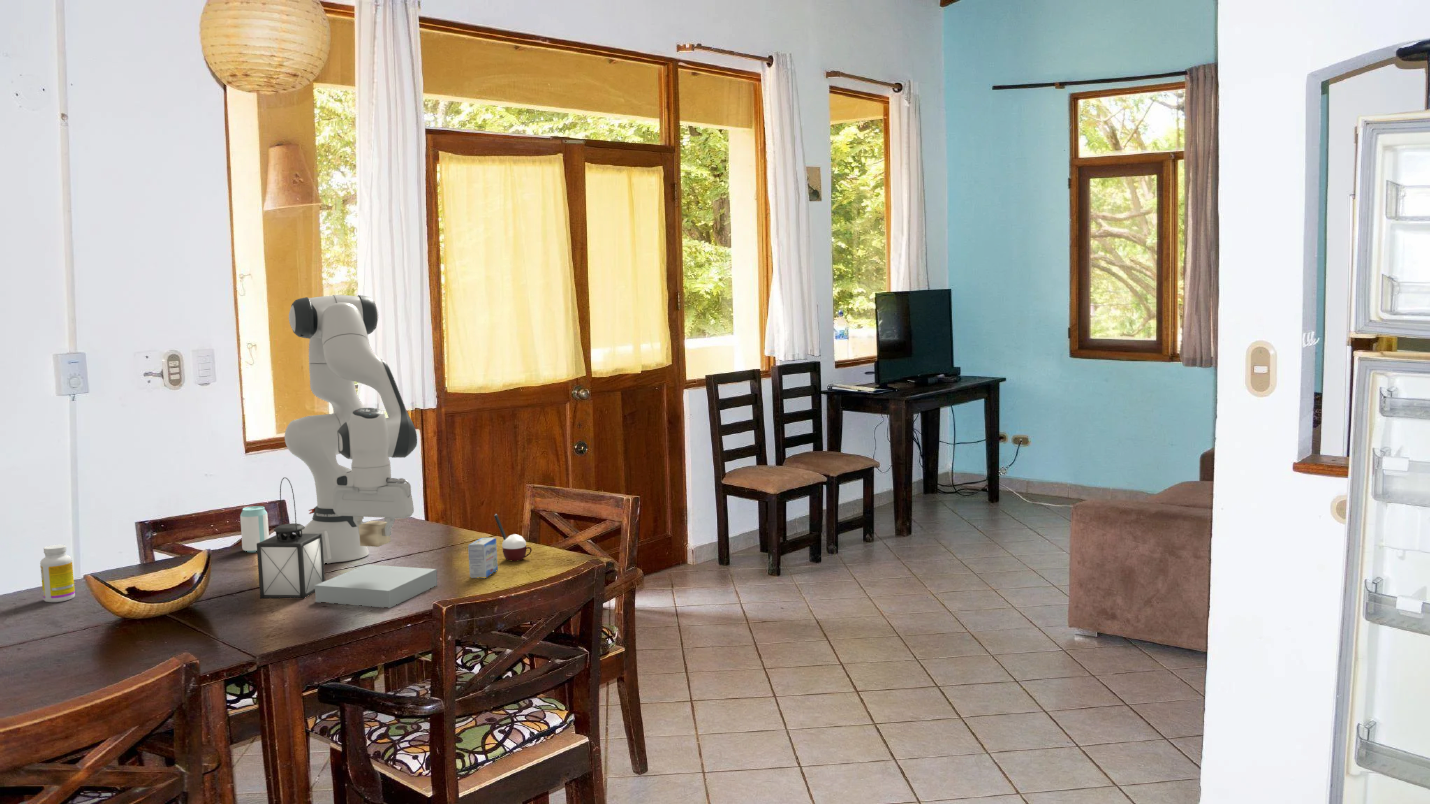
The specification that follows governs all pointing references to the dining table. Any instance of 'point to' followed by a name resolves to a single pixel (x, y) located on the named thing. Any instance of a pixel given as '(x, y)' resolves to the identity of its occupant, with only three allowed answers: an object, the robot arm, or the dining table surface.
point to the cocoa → (512, 544)
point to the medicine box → (482, 557)
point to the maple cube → (373, 534)
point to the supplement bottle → (57, 574)
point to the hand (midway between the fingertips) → (374, 535)
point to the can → (253, 527)
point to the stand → (376, 585)
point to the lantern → (290, 561)
